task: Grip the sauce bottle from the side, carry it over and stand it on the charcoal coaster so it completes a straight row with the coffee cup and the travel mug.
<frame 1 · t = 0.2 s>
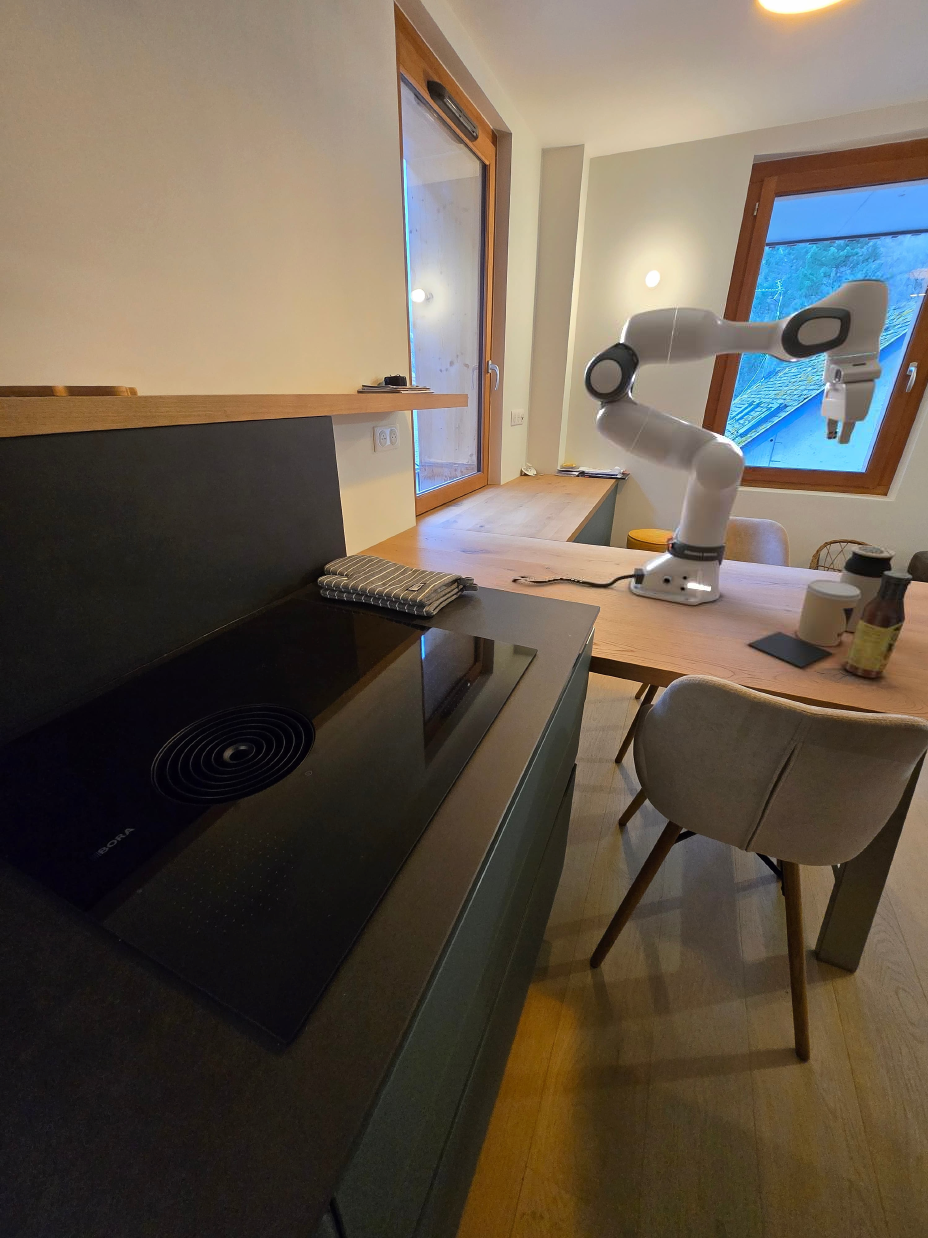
hand: (836, 441, 108), 39 cm above the table, tool pointing down, fingers open, 8 cm apart
coffee cup: (817, 638, 108), on the table
coaster: (789, 649, 103), on the table
sauce bottle: (861, 671, 96), on the table
travel mug: (846, 626, 113), on the table
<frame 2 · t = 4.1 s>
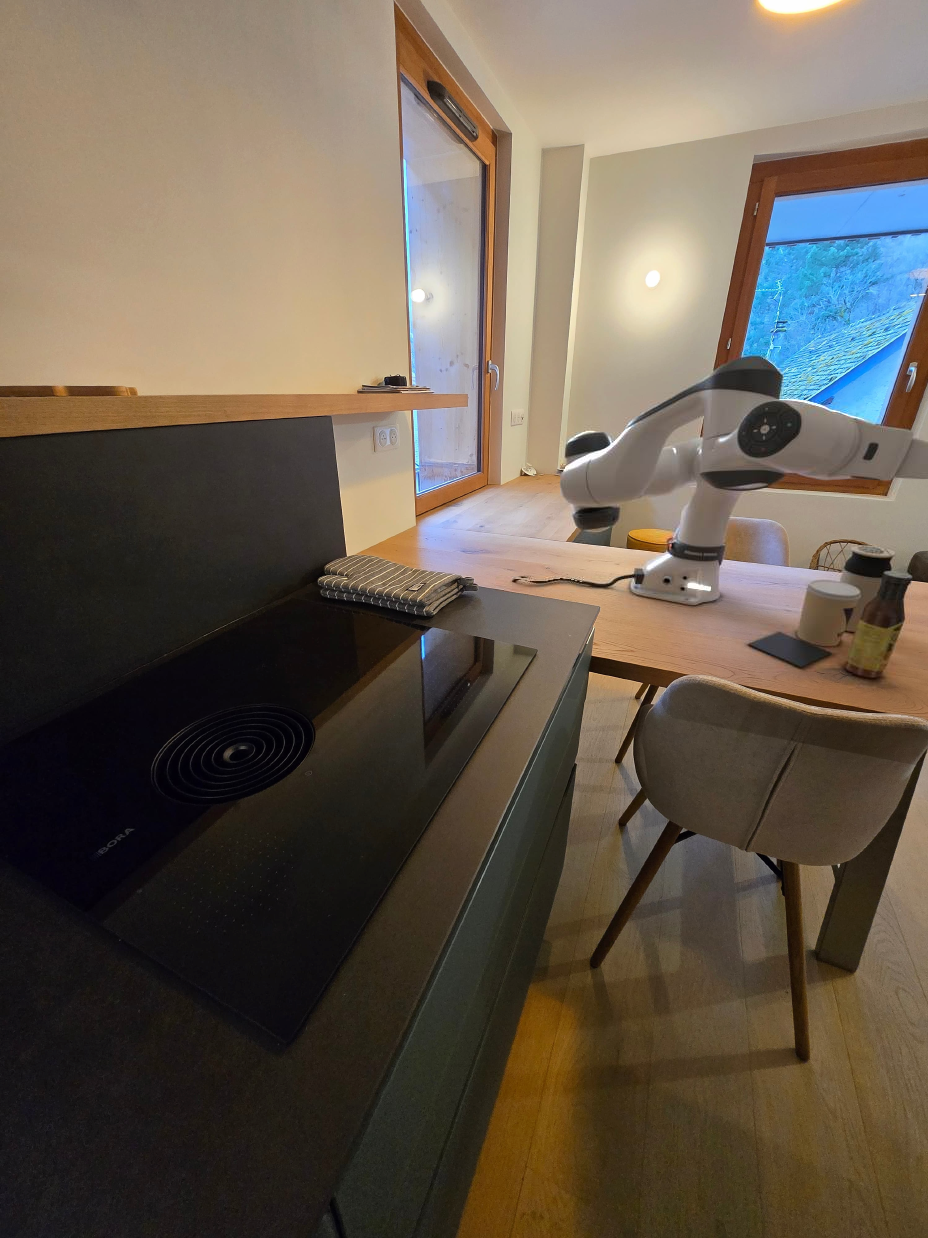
hand: (876, 459, 77), 40 cm above the table, tool horizontal, fingers open, 8 cm apart
nothing on the table moved.
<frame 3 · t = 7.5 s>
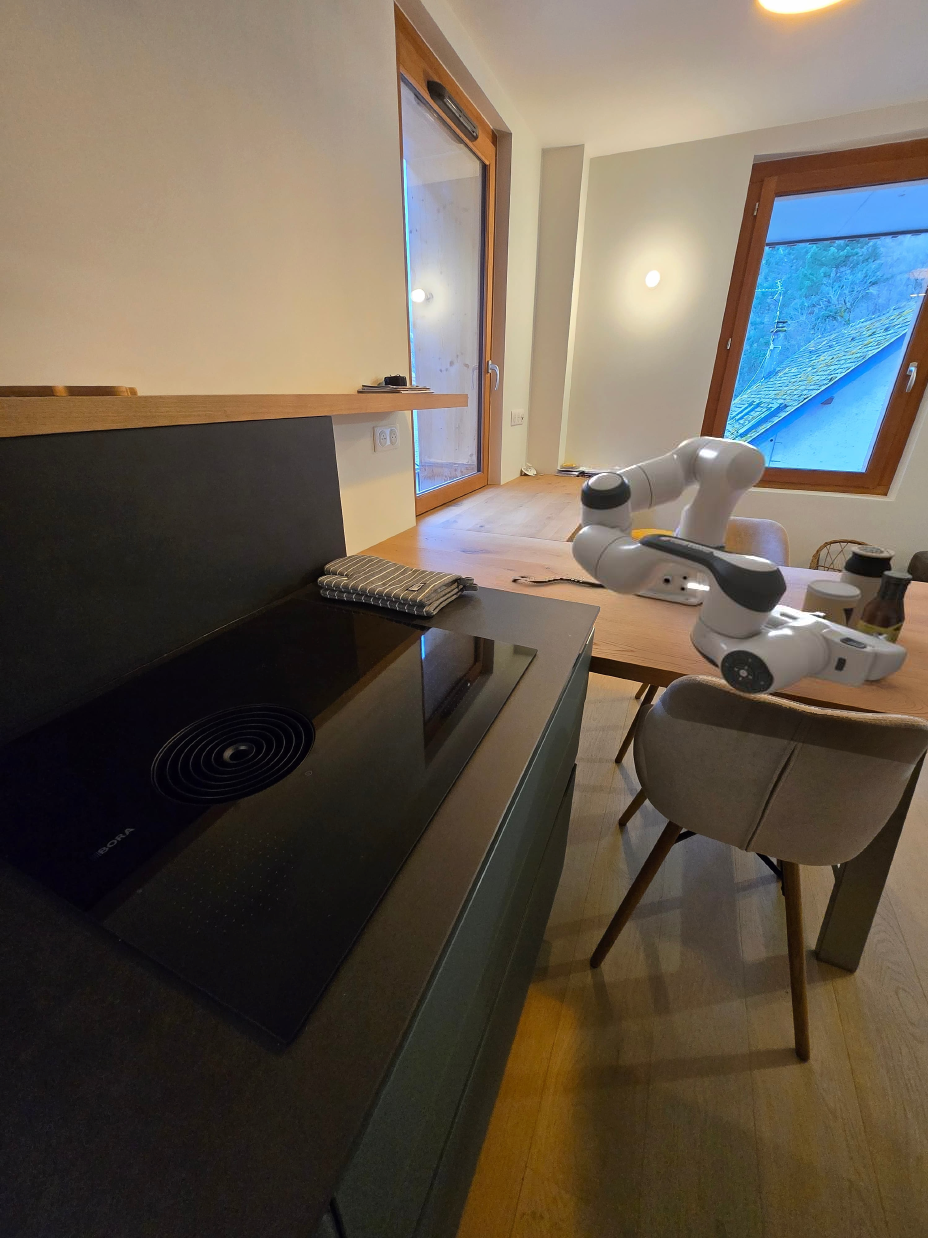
hand: (850, 626, 85), 13 cm above the table, tool horizontal, fingers open, 8 cm apart
nothing on the table moved.
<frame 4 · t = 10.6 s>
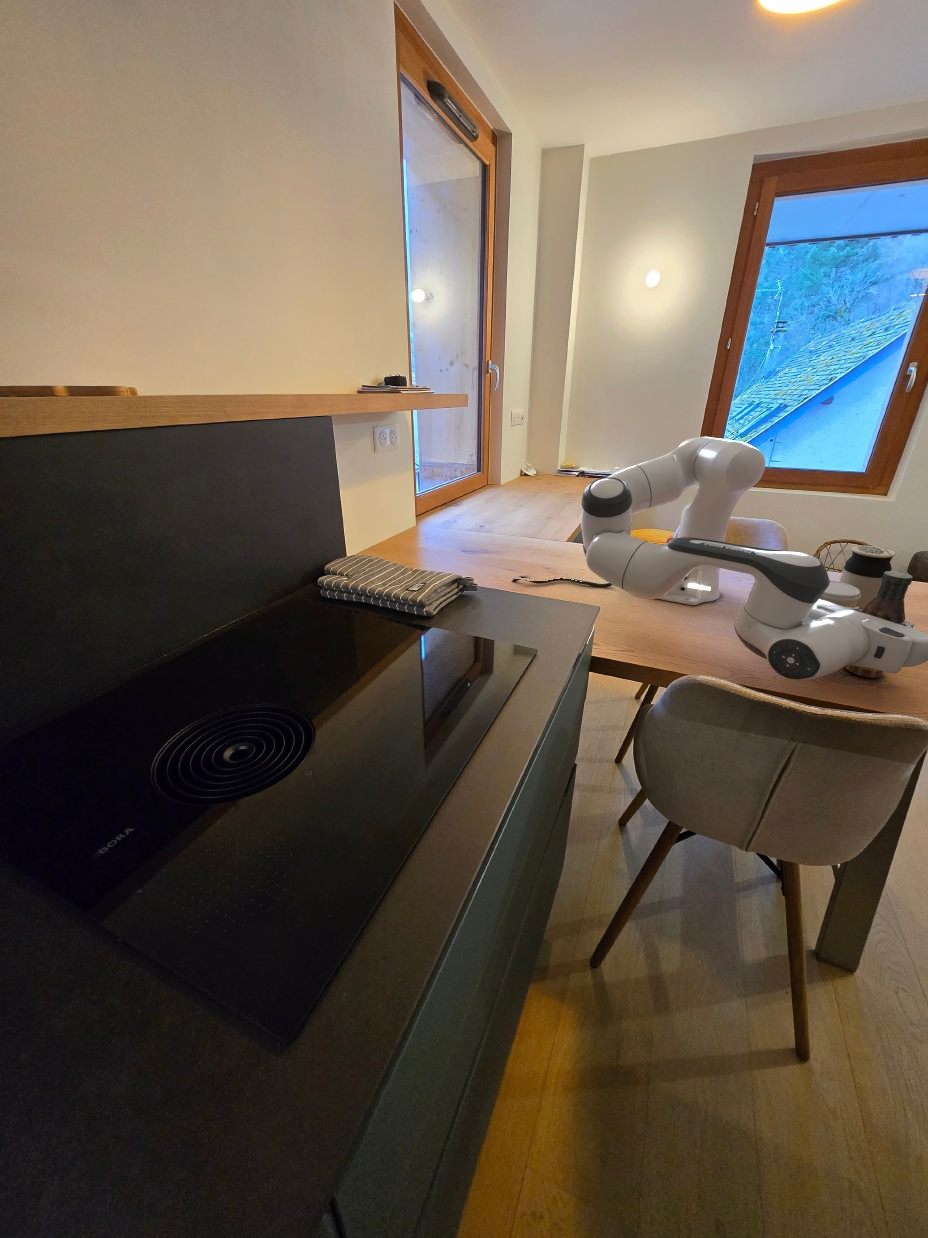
hand: (884, 618, 91), 11 cm above the table, tool horizontal, fingers closed on sauce bottle, 6 cm apart
sauce bottle: (861, 671, 96), on the table, touching gripper
everything else where it was.
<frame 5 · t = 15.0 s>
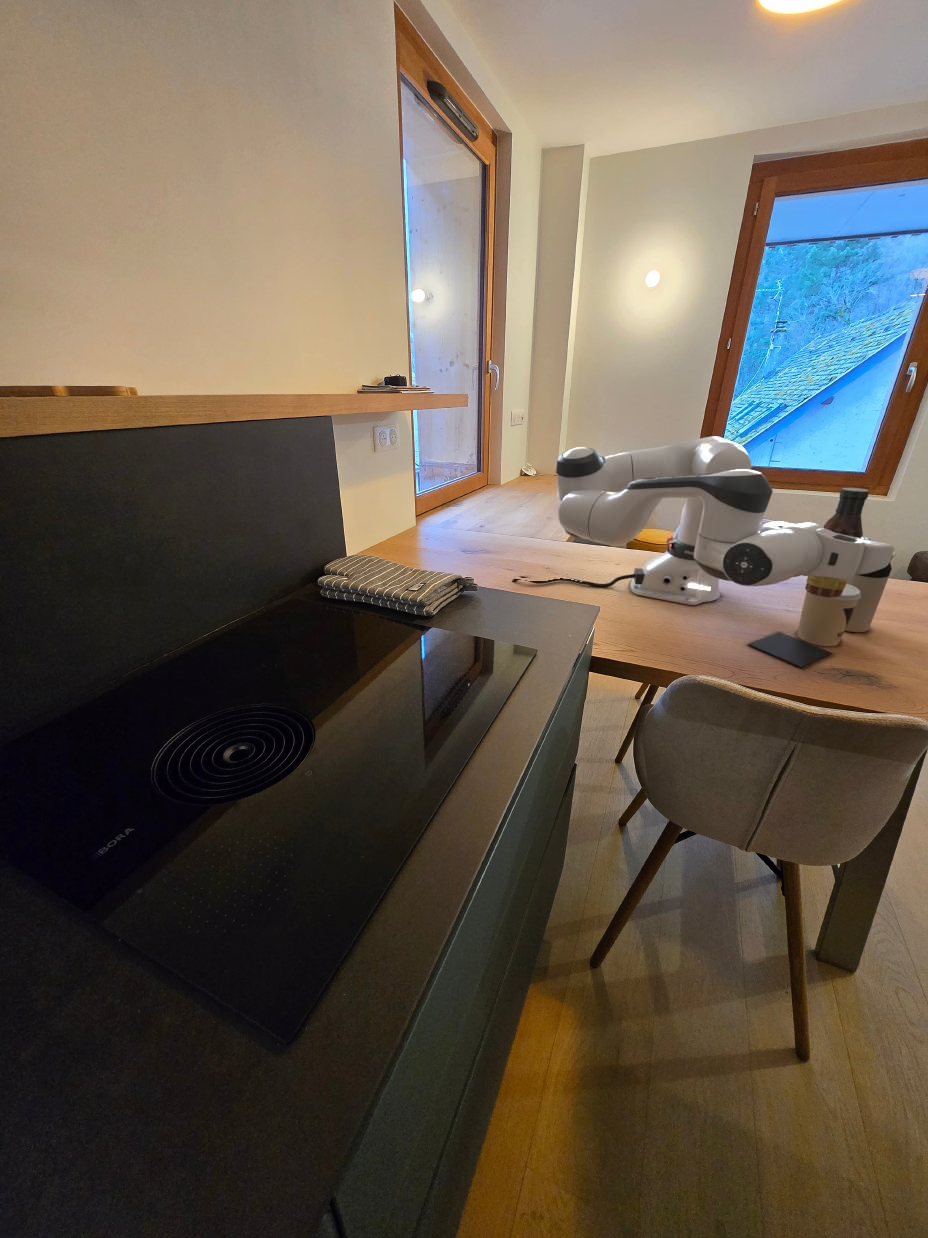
hand: (842, 537, 92), 25 cm above the table, tool horizontal, fingers closed on sauce bottle, 6 cm apart
sauce bottle: (822, 593, 96), point 13 cm above the table, touching gripper
everything else where it was.
when the fingers open (11 cm above the table, at t = 19.3 s): sauce bottle stays where it is, resting on coaster.
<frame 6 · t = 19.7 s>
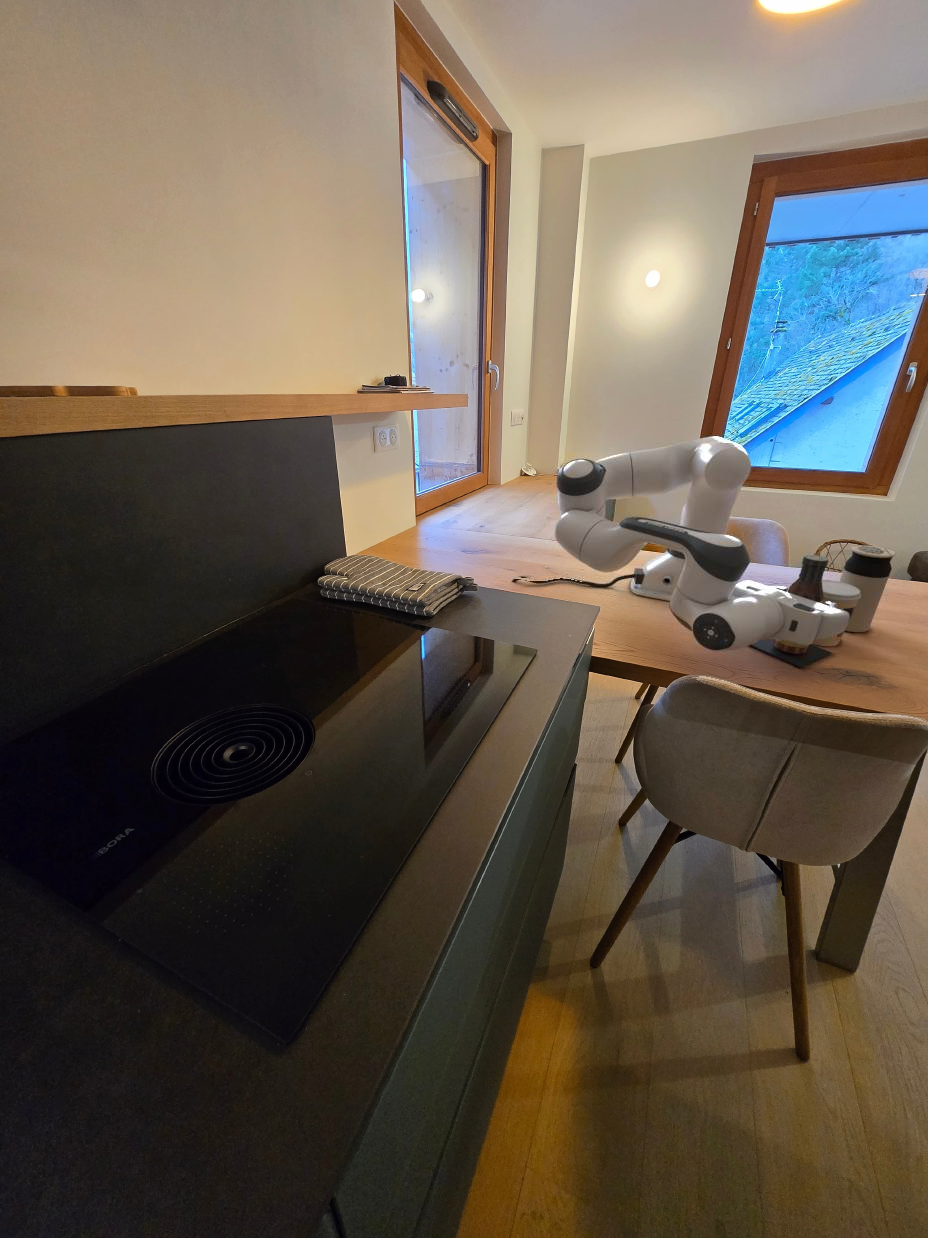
hand: (807, 597, 99), 12 cm above the table, tool horizontal, fingers open, 8 cm apart
sauce bottle: (788, 649, 103), resting on coaster
everything else where it was.
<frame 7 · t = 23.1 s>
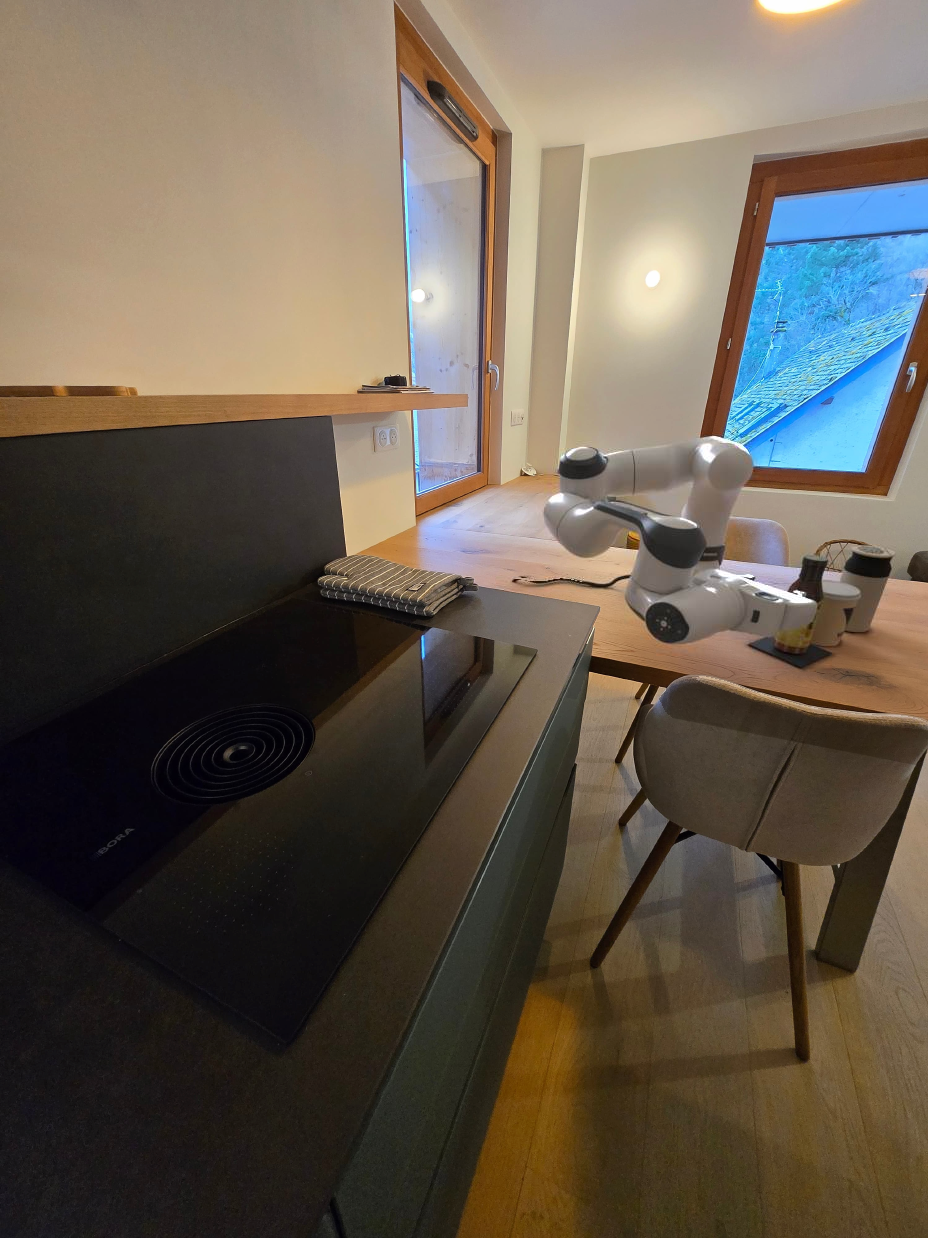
hand: (775, 587, 91), 17 cm above the table, tool horizontal, fingers open, 8 cm apart
nothing on the table moved.
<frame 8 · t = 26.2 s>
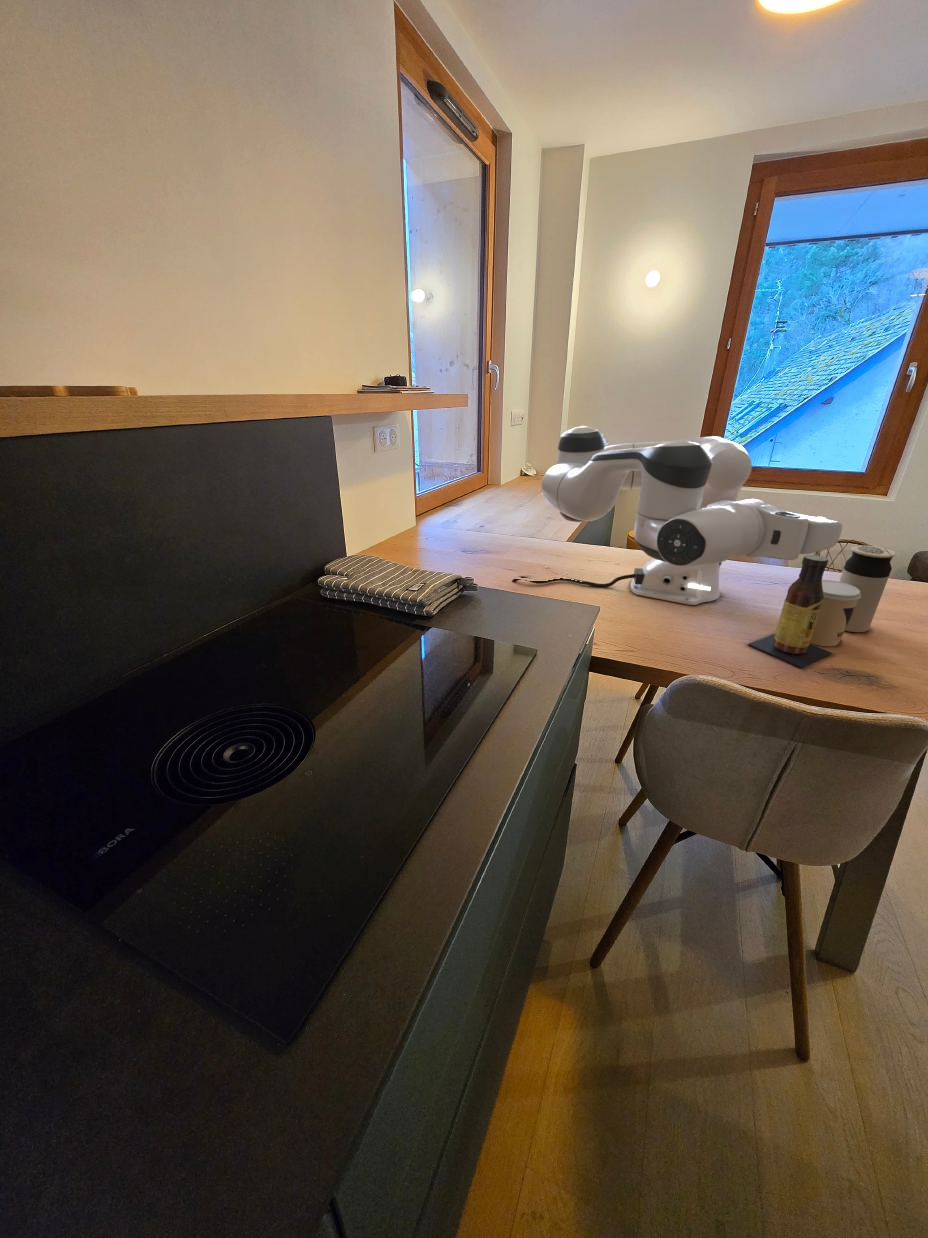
hand: (794, 516, 85), 30 cm above the table, tool horizontal, fingers open, 8 cm apart
nothing on the table moved.
at the end: sauce bottle 0.1 cm from the target spot, resting on coaster; sauce bottle tilted 0°; coffee cup moved 0.2 cm from its start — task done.
